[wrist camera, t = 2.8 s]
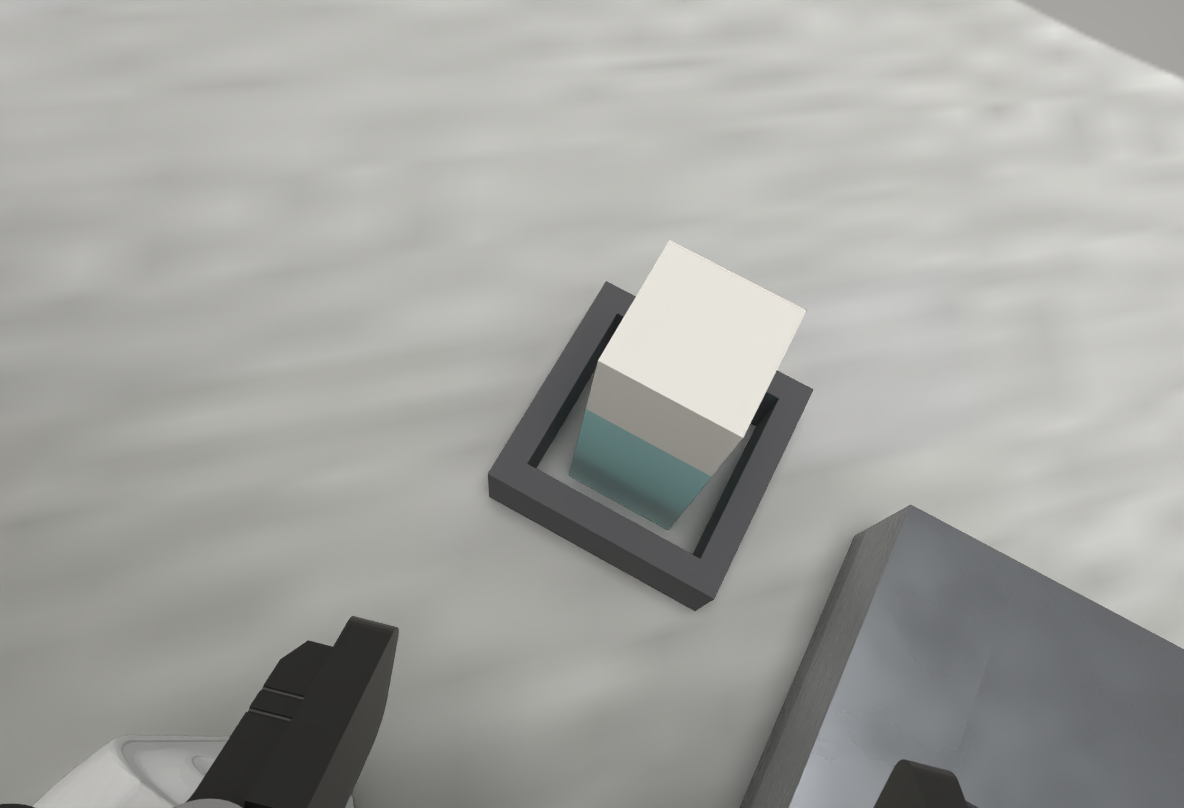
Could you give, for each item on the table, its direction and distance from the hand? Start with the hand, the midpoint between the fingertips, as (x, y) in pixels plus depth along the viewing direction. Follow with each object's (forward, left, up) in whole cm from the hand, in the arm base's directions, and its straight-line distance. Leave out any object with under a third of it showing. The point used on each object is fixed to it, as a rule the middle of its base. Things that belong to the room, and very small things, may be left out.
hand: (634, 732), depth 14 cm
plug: (-2, +8, -12) cm, 14 cm away
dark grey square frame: (-2, +8, -12) cm, 14 cm away
